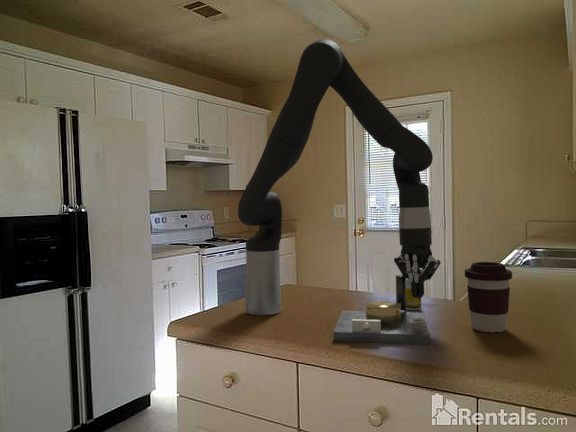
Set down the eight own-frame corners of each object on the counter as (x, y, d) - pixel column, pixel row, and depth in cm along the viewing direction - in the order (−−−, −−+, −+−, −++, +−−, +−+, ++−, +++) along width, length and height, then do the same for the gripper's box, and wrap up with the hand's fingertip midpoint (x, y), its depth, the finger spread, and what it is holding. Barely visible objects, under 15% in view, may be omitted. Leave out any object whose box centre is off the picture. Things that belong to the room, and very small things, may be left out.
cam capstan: (391, 324, 101) (390, 286, 101) (359, 319, 106) (358, 283, 106) (418, 310, 113) (417, 276, 113) (388, 306, 118) (388, 274, 118)
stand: (333, 341, 99) (333, 321, 99) (342, 318, 118) (342, 301, 118) (430, 345, 95) (429, 324, 94) (423, 320, 113) (423, 302, 113)
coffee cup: (509, 337, 98) (509, 268, 98) (461, 331, 103) (460, 265, 103) (515, 326, 107) (514, 261, 106) (469, 321, 112) (469, 260, 111)
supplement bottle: (422, 310, 123) (421, 279, 123) (404, 310, 124) (403, 279, 124) (420, 306, 128) (420, 276, 128) (403, 306, 129) (402, 276, 129)
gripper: (447, 225, 108) (450, 298, 108) (404, 224, 119) (407, 291, 119) (426, 227, 104) (429, 303, 104) (384, 226, 115) (386, 295, 115)
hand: (417, 297), depth 112 cm, fingers closed
